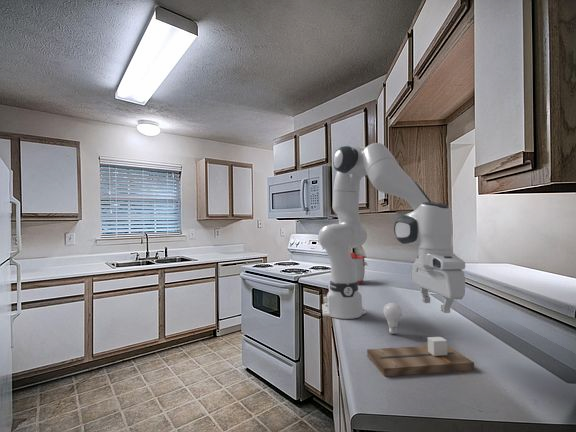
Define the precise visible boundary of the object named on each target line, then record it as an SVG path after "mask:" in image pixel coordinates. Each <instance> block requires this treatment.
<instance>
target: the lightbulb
mask: <svg viewBox="0 0 576 432" xmlns="http://www.w3.org/2000/svg"><path fill="white" fill-rule="evenodd" d="M382 312H383V313H382V314H383V316H384V318H385V319H386V322H387V325H388V332H389V334H391V335H396V334H398V328H397V327H398V322H399V321H400V320H401V318H402V315H403V312H402V307H401V306H400V305H399V303H398V304H397V303H396V302H391V301H390V302H388V303H386V304H385V305H384V306H383V308H382Z"/></svg>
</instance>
